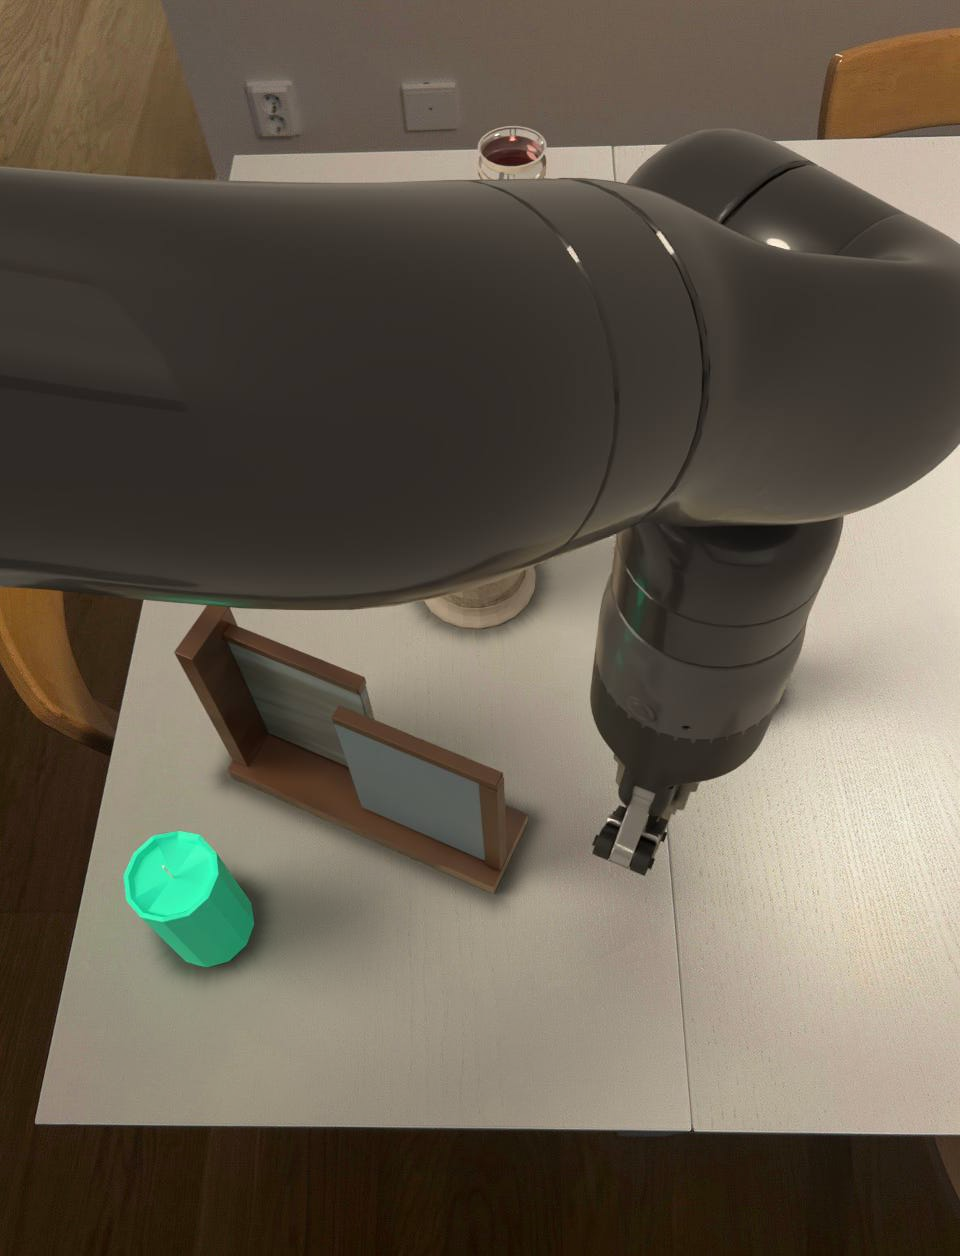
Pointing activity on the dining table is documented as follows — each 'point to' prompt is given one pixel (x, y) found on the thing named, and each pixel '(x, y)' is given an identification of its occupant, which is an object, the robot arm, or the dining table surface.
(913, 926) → the dining table surface
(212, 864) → the candle
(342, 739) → the glass door
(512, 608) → the mug
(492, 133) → the wineglass
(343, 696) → the screen frame
